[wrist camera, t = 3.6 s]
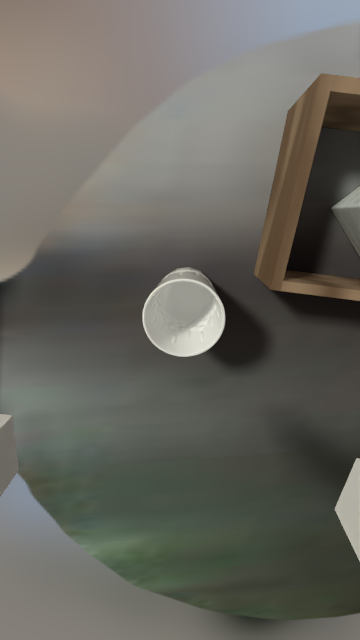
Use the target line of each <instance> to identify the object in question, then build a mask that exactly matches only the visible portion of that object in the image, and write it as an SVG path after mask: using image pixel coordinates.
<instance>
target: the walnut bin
mask: <svg viewBox="0 0 360 640" xmlns="http://www.w3.org/2000/svg"><path fill="white" fill-rule="evenodd" d="M321 127H326V128H334V129H343V130H351V131H359V132H360V78H354V77H346V76H337V75H329V74H320V76H319V77H318V78H317V79H316V80H315V81H314V82H313V83H312V85H311V86H310V87H309V88H308V89H307V90H306V91H305V93H304V94H303V95H302V96H301V97H300V98H299V99H298V100H297V102H296V103H295V104H294V105H293V106H292V107H291V108H290V110H289V111H288V114H287V119H286V124H285V128H284V133H283V138H282V143H281V147H280V152H279V157H278V162H277V166H276V171H275V176H274V181H273V185H272V190H271V195H270V200H269V205H268V209H267V214H266V219H265V224H264V228H263V233H262V238H261V243H260V247H259V252H258V257H257V262H256V267H255V271H254V275H255V276H256V277H257V278H258V279H260V280H261V281H262V282H263V283H264V284H265V285H266V286H267V287H268V288H269V289H270V290H277V291H285V292H293V293H300V294H308V295H316V296H324V297H332V298H340V299H348V300H356V301H360V279H355V278H347V277H339V276H331V275H323V274H315V273H307V272H299V271H291V270H286V267H287V263H288V259H289V255H290V251H291V247H292V243H293V239H294V235H295V231H296V227H297V223H298V219H299V215H300V211H301V207H302V203H303V199H304V195H305V191H306V187H307V183H308V179H309V175H310V171H311V167H312V163H313V159H314V155H315V151H316V147H317V143H318V139H319V135H320V131H321Z"/></svg>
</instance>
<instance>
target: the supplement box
mask: <svg viewBox="0 0 360 640" xmlns="http://www.w3.org/2000/svg"><path fill="white" fill-rule="evenodd" d="M331 210H332V211H333V213H334V215H335V217H336V218H337V220H338V222H339V223H340V225H341V227H342V228H343V230H344V232H345V233H346V235H347V237H348V238H349V240H350V242H351V244H352V245H353V247H354V248H355V250H356V252H357V253H358V255H359V257H360V187H358V188H357V189H356V190H354V191H353V192H352V193H350V194H349V195H348V196H346V197H345V198H344V199H342V200H341V201H340V202H338V203H337V204H336V205H334V206H333V207H332V208H331Z"/></svg>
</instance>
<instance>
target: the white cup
mask: <svg viewBox="0 0 360 640" xmlns="http://www.w3.org/2000/svg"><path fill="white" fill-rule="evenodd" d="M143 325H144V329H145V332H146V334H147V336H148V337H149V339H150V340H151V342H152V343H153V344H154V345H155V346H156V347H158V348H159V349H160V350H162V351H164V352H166V353H168V354H171V355H174V356H180V357H189V356H195V355H198V354H201V353H203V352H205V351H207V350H208V349H210V348H211V347H212V346H213V345H214V344H215V343H216V342H217V341H218V340H219V338H220V336H221V335H222V332H223V330H224V326H225V310H224V307H223V304H222V302H221V300H220V298H219V296H218V294H217V292H216V290H215V288H214V286H213V285H212V283H211V282H210V280H209V279H208V278H207V277H206V276H205V275H204V274H203V273H202V272H201V271H199V270H196V269H193V268H190V267H186V268H178V269H176V270H174V271H173V272H171V273H170V274H168V275H167V276H166V277H165V278H164V279H163V280H162V281H161V282H160V283H159V284H158V285H157V287H156V288H155V289H154V291H153V292H152V293H151V294H150V296H149V297H148V299H147V301H146V303H145V305H144V309H143Z"/></svg>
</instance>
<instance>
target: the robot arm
mask: <svg viewBox="0 0 360 640" xmlns="http://www.w3.org/2000/svg"><path fill="white" fill-rule="evenodd" d="M18 470H19V468H18V460H17V451H16V443H15V434H14V426H13V418H12V416H11V415H2V414H0V496H1V495H2V493H3V492H4V490H5V489H6V487H7V486H8V485H9V483H10V482H11V480H12V479H13V477H14V476H15V475H16V473H17V472H18ZM335 511H336V513H337V515H338V517H339V519H340V521H341V524H342V526H343V528H344V530H345V532H346V534H347V536H348V538H349V540H350V542H351V544H352V546H353V548H354V551H355V553H356V555H357V557H358V559H359V561H360V458H356V461H355V463H354V465H353V468H352V470H351V472H350V475H349V477H348V479H347V482H346V484H345V486H344V488H343V491H342V493H341V495H340V498H339V500H338V502H337V505H336V507H335Z"/></svg>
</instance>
